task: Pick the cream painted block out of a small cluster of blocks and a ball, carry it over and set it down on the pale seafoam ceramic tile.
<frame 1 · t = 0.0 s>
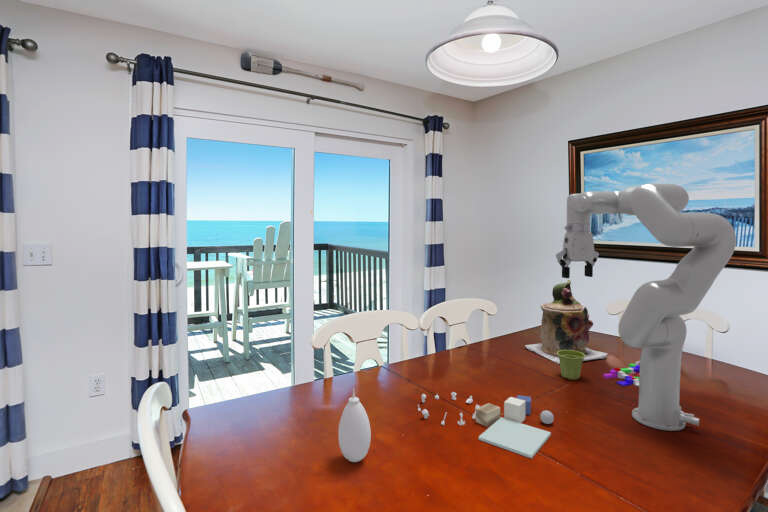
hand: (577, 277, 144), 37 cm above the table, tool pointing down, fingers open, 9 cm apart
sand wood block: (488, 421, 117), on the table
cookie jar: (564, 354, 177), on the table
white air blower bulb: (355, 460, 99), on the table
game piece set: (448, 412, 124), on the table
building block set: (643, 380, 147), on the table
grey ball: (546, 417, 115), point 2 cm above the table
blue cube: (523, 411, 123), on the table
cream block: (514, 419, 118), on the table
plant pot: (570, 377, 150), on the table
seafoam tile: (514, 437, 108), on the table
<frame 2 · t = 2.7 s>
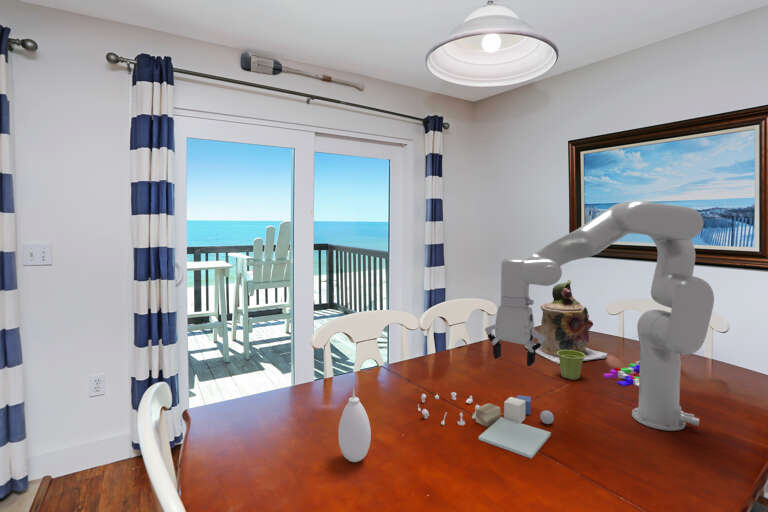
hand: (513, 361, 116), 17 cm above the table, tool pointing down, fingers open, 9 cm apart
nothing on the table moved.
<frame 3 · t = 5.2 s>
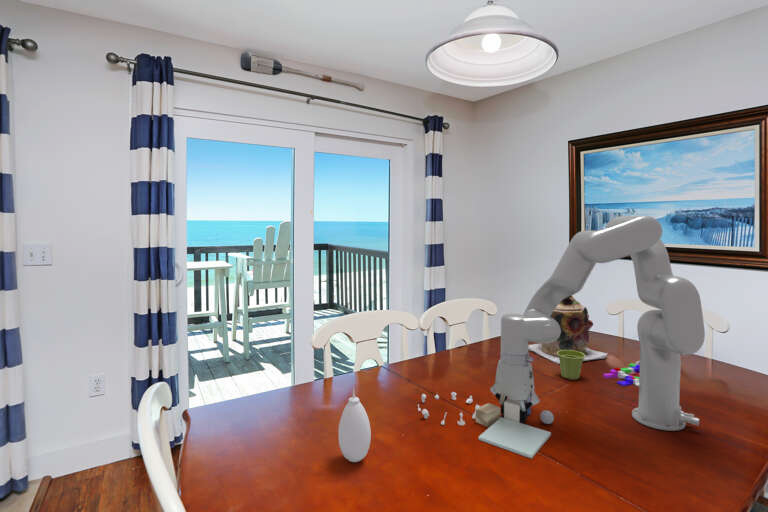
hand: (513, 418, 117), 0 cm above the table, tool pointing down, fingers closed on cream block, 4 cm apart
cream block: (514, 419, 118), on the table, touching gripper
everything else where it was.
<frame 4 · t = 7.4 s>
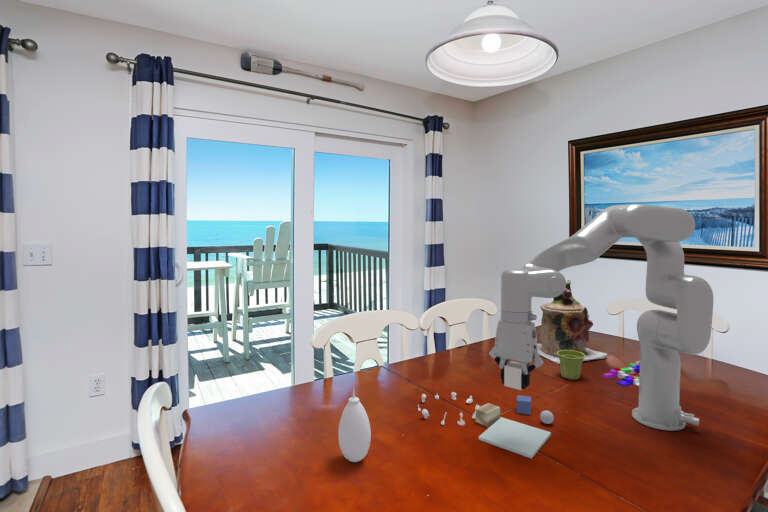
hand: (514, 384, 107), 14 cm above the table, tool pointing down, fingers closed on cream block, 4 cm apart
cream block: (515, 385, 107), point 14 cm above the table, touching gripper
everything else where it was.
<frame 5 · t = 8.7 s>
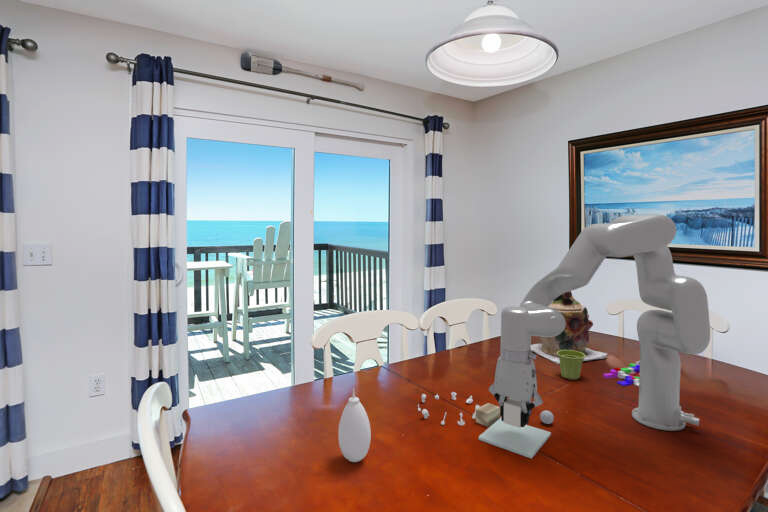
hand: (514, 421, 107), 4 cm above the table, tool pointing down, fingers closed on cream block, 4 cm apart
cream block: (515, 422, 108), point 4 cm above the table, touching gripper
everything else where it was.
when the fingers open (2 cm above the table, at t = 9.8 s): cream block drops 1 cm, resting on seafoam tile.
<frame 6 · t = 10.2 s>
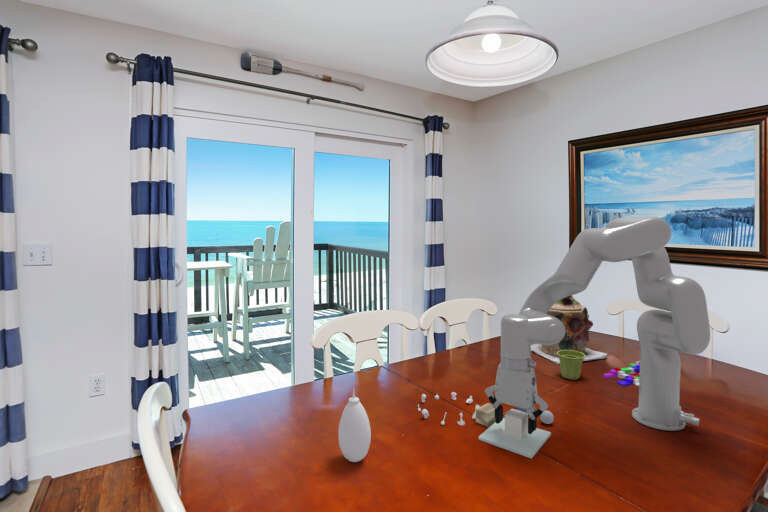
hand: (515, 426, 108), 3 cm above the table, tool pointing down, fingers open, 8 cm apart
cream block: (516, 433, 108), point 1 cm above the table, touching seafoam tile
everything else where it was.
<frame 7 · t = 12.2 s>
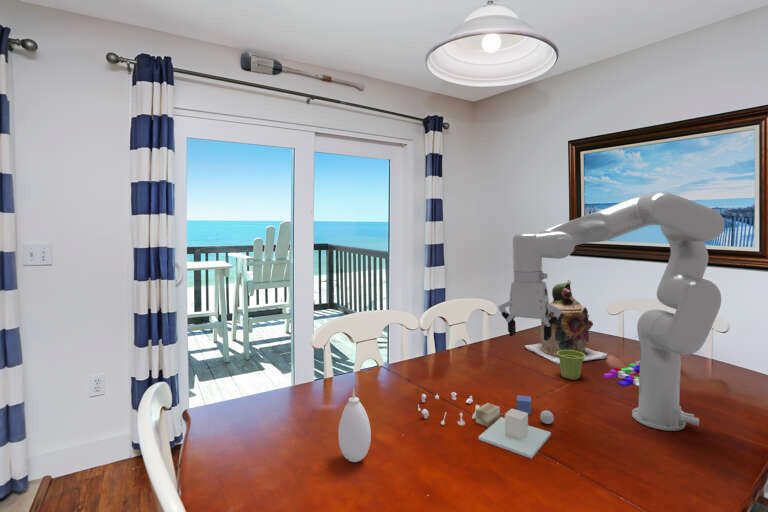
hand: (529, 337, 115), 25 cm above the table, tool pointing down, fingers open, 9 cm apart
nothing on the table moved.
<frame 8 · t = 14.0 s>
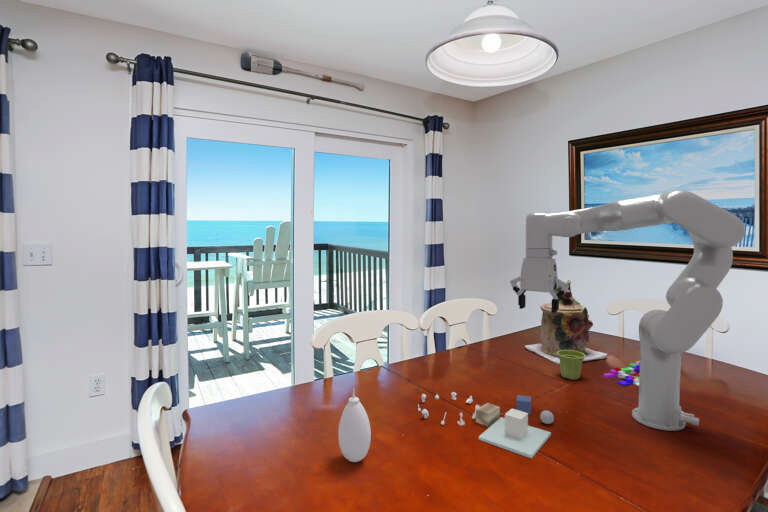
hand: (538, 309, 124), 30 cm above the table, tool pointing down, fingers open, 9 cm apart
nothing on the table moved.
at the end: cream block inside the target area on the seafoam tile (0.6 cm from its centre), point 0.8 cm above the seafoam tile's base; cream block tilted 0°; the gripper is holding nothing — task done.
